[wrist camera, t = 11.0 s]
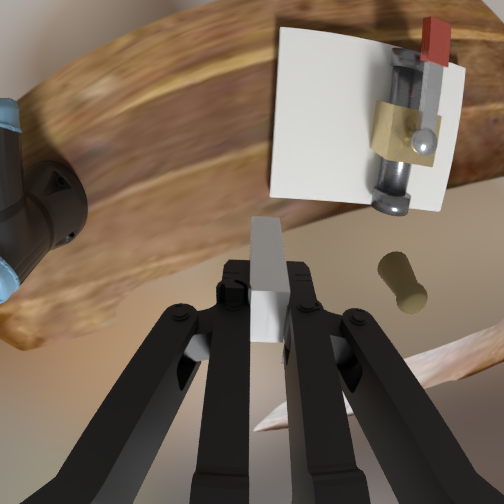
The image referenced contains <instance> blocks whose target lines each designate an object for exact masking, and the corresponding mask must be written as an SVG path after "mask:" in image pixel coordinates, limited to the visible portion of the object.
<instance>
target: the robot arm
mask: <svg viewBox="0 0 504 504" xmlns="http://www.w3.org/2000/svg"><path fill="white" fill-rule="evenodd" d="M21 133H22V130H21V128H20V119H19V107H18V104H17V103H16V101H14V100H13V99H10V98H0V304H1V303H3V302H4V301H6V300H7V299H8V298H9V297H10V296H11V294H12V293H13V292H15V291H17V290H18V288H19V287H20V285H21V284H22V283H23V281H24V280H25V279H26V278H27V276H28V275H29V274H30V273H31V272H32V270H33V269H34V268H35V267H36V266H37V264H38V263H39V262H40V261H41V260H42V258H43V257H44V256H45V255H46V254H47V253H48V252H49V251H51V250H53V249H56V248H58V247H61V246H63V245H66V244H68V243H69V242H71V241H72V240H73V239H74V238H75V237H76V236H77V235H78V234H79V233H80V232H81V230H82V229H83V227H84V225H85V223H86V219H87V212H88V207H87V199H86V195H85V192H84V190H83V187H82V185H81V183H80V182H79V180H78V179H77V177H76V176H75V175H74V174H73V173H72V172H71V171H70V170H69V169H68V168H66V167H65V166H63V165H62V164H59V163H57V162H53V161H42V162H38V163H36V164H34V165H33V166H31V167H29V168H28V169H26V170H25V171H24V172H23V165H22V151H21ZM216 298H217V303H216V305H214V306H213V307H211V308H209V309H205V310H201V311H197V310H196V309H195V308H194V307H193V306H191V305H188V304H182V303H180V304H174V305H172V306H170V307H168V308H167V309H166V310H165V311H164V312H163V314H162V315H161V317H160V318H159V320H158V321H157V322H156V324H155V326H154V327H153V328H152V330H151V331H150V333H149V334H148V335H147V337H146V338H145V340H144V341H143V343H142V345H141V346H140V347H139V349H138V350H137V352H136V353H135V354H134V356H133V358H132V359H131V360H130V362H129V364H128V365H127V366H126V368H125V369H124V371H123V372H122V374H121V375H120V377H119V378H118V380H117V381H116V383H115V384H114V386H113V387H112V389H111V390H110V392H109V393H108V395H107V396H106V398H105V400H104V401H103V403H102V404H101V406H100V407H99V409H98V410H97V412H96V413H95V415H94V417H93V418H92V419H91V421H90V423H89V424H88V426H87V427H86V429H85V430H84V432H83V434H82V435H81V437H80V438H79V440H78V441H77V443H76V445H75V446H74V448H73V450H72V451H71V453H70V454H69V456H68V457H67V459H66V461H65V462H64V464H63V466H62V467H61V469H60V470H59V472H58V474H57V475H56V477H55V478H53V479H52V480H51V481H49V482H48V483H47V484H45V485H44V486H43V487H42V488H40V489H39V490H38V491H36V492H35V493H33V494H32V495H31V496H30V497H28V498H27V499H25V500H24V501H23V502H21V503H20V504H133V501H134V499H135V497H136V495H137V493H138V491H139V489H140V487H141V485H142V483H143V481H144V479H145V477H146V475H147V473H148V471H149V469H150V467H151V465H152V463H153V461H154V459H155V457H156V455H157V453H158V450H159V448H160V446H161V444H162V442H163V440H164V438H165V436H166V434H167V432H168V430H169V428H170V426H171V424H172V422H173V420H174V418H175V416H176V414H177V412H178V409H179V407H180V405H181V403H182V401H183V399H184V397H185V395H186V393H187V391H188V389H189V387H190V385H191V383H192V381H193V379H194V377H195V375H196V372H197V371H198V369H199V366H200V364H201V361H202V360H207V359H209V364H208V372H207V380H206V388H205V396H204V404H203V412H202V421H201V429H200V438H199V447H198V456H197V465H196V470H195V472H194V474H193V478H192V484H191V493H190V504H249V402H250V400H249V399H250V397H249V396H250V342H283V338H284V341H285V344H284V350H283V356H282V362H281V363H284V369H285V382H286V396H287V412H288V427H289V443H290V460H291V477H292V504H371V503H370V497H369V491H368V486H367V480H366V476H365V474H364V472H363V471H362V470H360V469H358V467H357V465H356V461H355V456H354V450H353V444H352V439H351V434H350V428H349V424H348V418H347V413H346V408H345V403H344V398H343V393H344V395H345V396H346V398H347V400H348V402H349V404H350V406H351V408H352V410H353V412H354V414H355V416H356V418H357V420H358V422H359V424H360V426H361V428H362V430H363V432H364V434H365V436H366V438H367V440H368V442H369V444H370V446H371V448H372V450H373V451H374V454H375V456H376V458H377V460H378V462H379V464H380V466H381V468H382V470H383V472H384V474H385V476H386V478H387V480H388V482H389V484H390V486H391V488H392V490H393V492H394V494H395V496H396V498H397V500H398V502H399V504H504V495H503V494H502V493H500V492H499V491H498V490H497V489H496V488H494V487H493V486H492V485H491V484H489V483H488V482H487V481H486V480H485V479H483V478H482V477H481V476H480V475H479V474H477V473H476V471H475V470H474V468H473V467H472V465H471V463H470V461H469V460H468V458H467V456H466V455H465V453H464V451H463V450H462V448H461V447H460V445H459V443H458V442H457V440H456V439H455V437H454V435H453V434H452V432H451V431H450V429H449V427H448V426H447V424H446V423H445V421H444V420H443V418H442V416H441V415H440V414H439V412H438V410H437V409H436V407H435V406H434V404H433V403H432V401H431V400H430V398H429V397H428V395H427V394H426V392H425V391H424V389H423V388H422V386H421V385H420V383H419V382H418V380H417V379H416V377H415V376H414V374H413V373H412V371H411V370H410V368H409V367H408V366H407V364H406V363H405V361H404V360H403V358H402V357H401V356H400V354H399V353H398V351H397V350H396V349H395V347H394V346H393V344H392V343H391V341H390V340H389V339H388V337H387V336H386V334H385V333H384V332H383V330H382V329H381V327H380V326H379V325H378V323H377V322H376V321H375V319H374V318H373V316H372V315H371V314H370V313H368V312H366V311H365V310H362V309H358V308H351V309H348V310H346V311H345V312H344V313H343V315H338V314H334V313H331V312H328V311H326V310H324V309H323V306H322V304H321V303H320V302H319V301H318V300H317V299H316V294H315V290H314V286H313V282H312V277H311V273H310V270H309V267H308V266H307V265H306V264H305V263H304V262H294V261H286V258H285V252H284V245H283V238H282V232H281V225H280V219H279V217H260V216H252V219H251V240H250V260H228V261H227V263H226V264H225V265H224V269H223V276H222V281H221V282H219V283H218V285H217V287H216ZM342 391H343V393H342Z"/></svg>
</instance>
